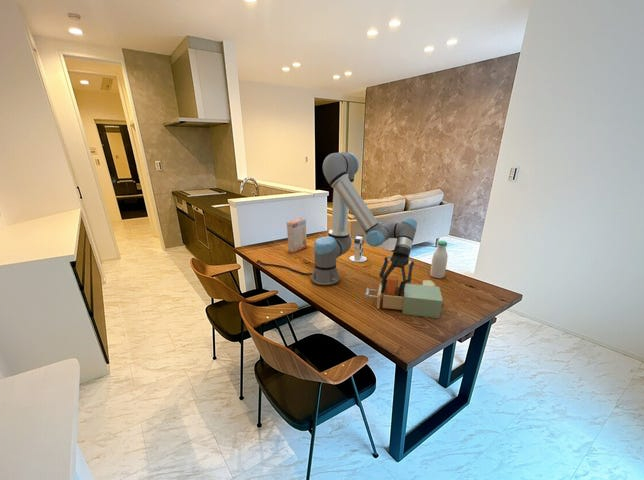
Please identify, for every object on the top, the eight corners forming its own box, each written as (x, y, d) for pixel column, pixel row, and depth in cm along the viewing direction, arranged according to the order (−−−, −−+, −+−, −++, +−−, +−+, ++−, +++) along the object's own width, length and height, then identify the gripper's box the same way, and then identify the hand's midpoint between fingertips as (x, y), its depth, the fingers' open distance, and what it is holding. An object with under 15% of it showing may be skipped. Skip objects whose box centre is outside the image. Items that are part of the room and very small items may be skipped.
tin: (384, 303, 136) (387, 279, 131) (385, 298, 140) (387, 275, 135) (395, 304, 135) (398, 280, 130) (395, 299, 139) (398, 276, 134)
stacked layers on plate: (415, 288, 153) (416, 279, 151) (432, 288, 153) (434, 279, 151) (420, 297, 144) (421, 287, 142) (438, 298, 144) (440, 288, 142)
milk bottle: (445, 279, 163) (451, 244, 155) (430, 278, 165) (436, 243, 156) (443, 273, 170) (449, 240, 162) (428, 272, 171) (434, 239, 163)
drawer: (363, 306, 135) (364, 293, 132) (366, 294, 146) (367, 282, 143) (409, 312, 131) (411, 298, 128) (409, 299, 142) (411, 286, 139)
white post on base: (364, 263, 185) (366, 240, 179) (347, 261, 188) (347, 238, 182) (368, 256, 195) (369, 234, 189) (351, 254, 199) (352, 233, 192)
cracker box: (300, 246, 216) (299, 217, 208) (307, 247, 213) (306, 218, 204) (287, 251, 206) (286, 221, 197) (294, 253, 203) (293, 223, 194)
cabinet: (402, 313, 131) (404, 296, 128) (402, 299, 143) (404, 283, 140) (439, 318, 128) (442, 301, 124) (436, 302, 140) (439, 286, 136)
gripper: (424, 255, 139) (413, 301, 133) (383, 249, 147) (370, 292, 141) (424, 248, 133) (412, 296, 126) (381, 242, 141) (368, 286, 134)
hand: (390, 294), depth 134 cm, fingers open, 7 cm apart
